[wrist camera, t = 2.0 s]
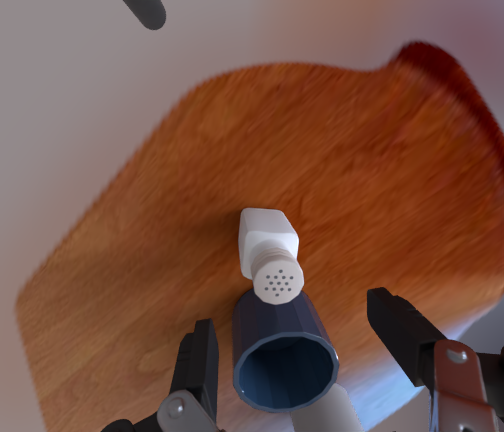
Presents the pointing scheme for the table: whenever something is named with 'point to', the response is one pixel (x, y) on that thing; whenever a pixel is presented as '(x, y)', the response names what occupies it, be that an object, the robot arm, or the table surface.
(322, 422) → the can
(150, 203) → the table surface
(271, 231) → the salt shaker
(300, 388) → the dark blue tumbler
